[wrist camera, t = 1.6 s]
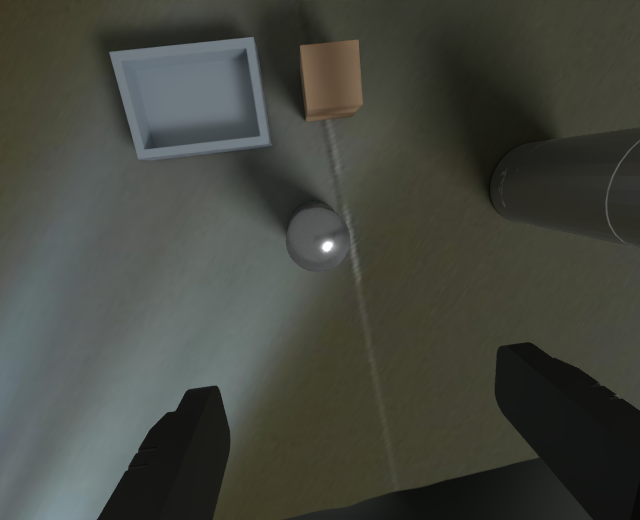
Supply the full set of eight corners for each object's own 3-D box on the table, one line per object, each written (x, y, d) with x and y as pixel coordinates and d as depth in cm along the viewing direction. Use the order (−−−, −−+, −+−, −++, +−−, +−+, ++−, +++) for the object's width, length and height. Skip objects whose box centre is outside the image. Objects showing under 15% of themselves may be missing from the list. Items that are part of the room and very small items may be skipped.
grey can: (336, 198, 35) (347, 204, 27) (341, 247, 36) (352, 267, 29) (285, 204, 35) (281, 212, 27) (292, 254, 36) (290, 275, 29)
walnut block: (347, 64, 31) (358, 39, 25) (351, 116, 33) (362, 104, 27) (299, 69, 31) (300, 45, 25) (305, 121, 32) (307, 110, 27)
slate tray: (257, 50, 30) (253, 36, 27) (272, 146, 33) (269, 143, 30) (127, 64, 30) (109, 51, 27) (152, 160, 32) (138, 159, 29)
